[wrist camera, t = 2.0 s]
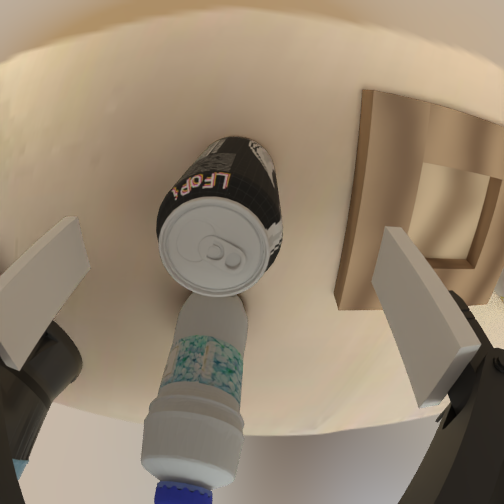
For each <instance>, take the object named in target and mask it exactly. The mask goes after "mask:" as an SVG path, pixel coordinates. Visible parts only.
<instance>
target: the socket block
mask: <svg viewBox="0 0 504 504" xmlns="http://www.w3.org/2000/svg"><path fill="white" fill-rule="evenodd" d="M385 226H390V227H401V228H402V229H403V230H404V231H405V233H406V234H407V235H408V236H409V238H410V239H411V240H412V242H413V243H414V244H415V245H416V247H417V248H418V249H419V251H420V252H421V253H422V255H423V256H424V257H425V259H426V260H427V261H428V263H429V264H430V266H431V267H432V268H433V270H434V271H435V273H436V274H437V275H438V277H439V278H440V280H441V281H442V283H443V284H444V285H445V287H446V288H447V290H453V291H454V292H455V293H456V294H457V295H459V296H460V297H461V298H462V299H463V300H464V302H465V303H466V305H467V306H471V305H484V304H487V303H488V301H489V299H490V297H491V295H492V293H493V291H494V288H495V286H496V284H497V282H498V279H499V277H500V275H501V272H502V270H503V268H504V127H502V126H499V125H497V124H494V123H491V122H489V121H486V120H483V119H481V118H478V117H475V116H472V115H469V114H466V113H463V112H460V111H457V110H453V109H450V108H447V107H443V106H440V105H436V104H432V103H429V102H425V101H421V100H417V99H413V98H409V97H404V96H400V95H395V94H390V93H385V92H380V91H375V90H363V92H362V106H361V118H360V129H359V139H358V149H357V157H356V166H355V174H354V181H353V188H352V195H351V202H350V209H349V215H348V221H347V227H346V233H345V239H344V245H343V250H342V255H341V261H340V266H339V271H338V276H337V281H336V285H335V290H334V296H335V299H336V303H337V306H338V310H383V308H382V306H381V303H380V301H379V299H378V296H377V294H376V292H375V289H374V287H373V285H372V282H371V281H372V277H373V274H374V270H375V266H376V262H377V258H378V254H379V250H380V246H381V242H382V238H383V233H384V229H385Z"/></svg>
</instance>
